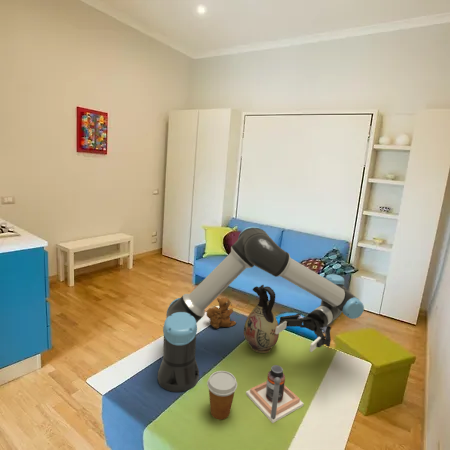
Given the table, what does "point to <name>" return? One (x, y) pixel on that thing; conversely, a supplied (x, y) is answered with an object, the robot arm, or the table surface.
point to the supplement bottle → (275, 372)
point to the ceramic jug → (262, 322)
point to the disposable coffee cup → (221, 393)
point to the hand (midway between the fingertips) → (293, 339)
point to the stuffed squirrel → (221, 314)
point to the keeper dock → (285, 399)
